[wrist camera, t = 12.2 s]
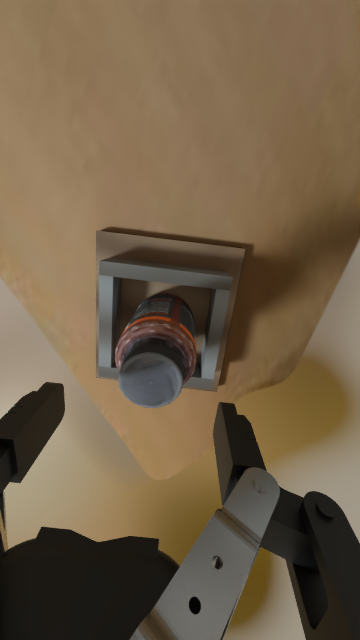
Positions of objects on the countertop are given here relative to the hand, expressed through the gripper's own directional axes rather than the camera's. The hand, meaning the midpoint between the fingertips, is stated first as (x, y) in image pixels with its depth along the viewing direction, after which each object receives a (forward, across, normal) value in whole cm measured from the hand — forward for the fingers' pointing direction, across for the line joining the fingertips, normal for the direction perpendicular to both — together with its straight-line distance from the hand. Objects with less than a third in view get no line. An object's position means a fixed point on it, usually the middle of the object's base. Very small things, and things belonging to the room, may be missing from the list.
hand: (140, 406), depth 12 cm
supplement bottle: (+14, 0, 0) cm, 14 cm away
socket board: (+15, 0, 0) cm, 15 cm away
